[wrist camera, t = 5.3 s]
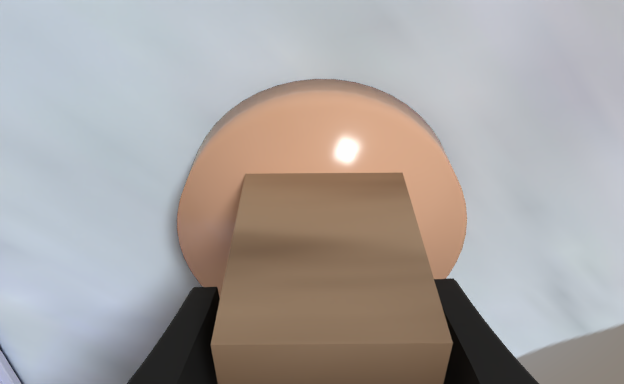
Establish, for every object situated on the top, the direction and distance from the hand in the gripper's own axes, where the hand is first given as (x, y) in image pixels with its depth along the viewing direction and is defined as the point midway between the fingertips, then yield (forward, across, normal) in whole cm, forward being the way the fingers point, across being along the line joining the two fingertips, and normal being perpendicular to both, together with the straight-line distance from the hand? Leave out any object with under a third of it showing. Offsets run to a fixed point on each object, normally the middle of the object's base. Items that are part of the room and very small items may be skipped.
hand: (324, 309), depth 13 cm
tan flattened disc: (+5, 0, 0) cm, 5 cm away
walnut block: (+3, 0, 0) cm, 3 cm away
